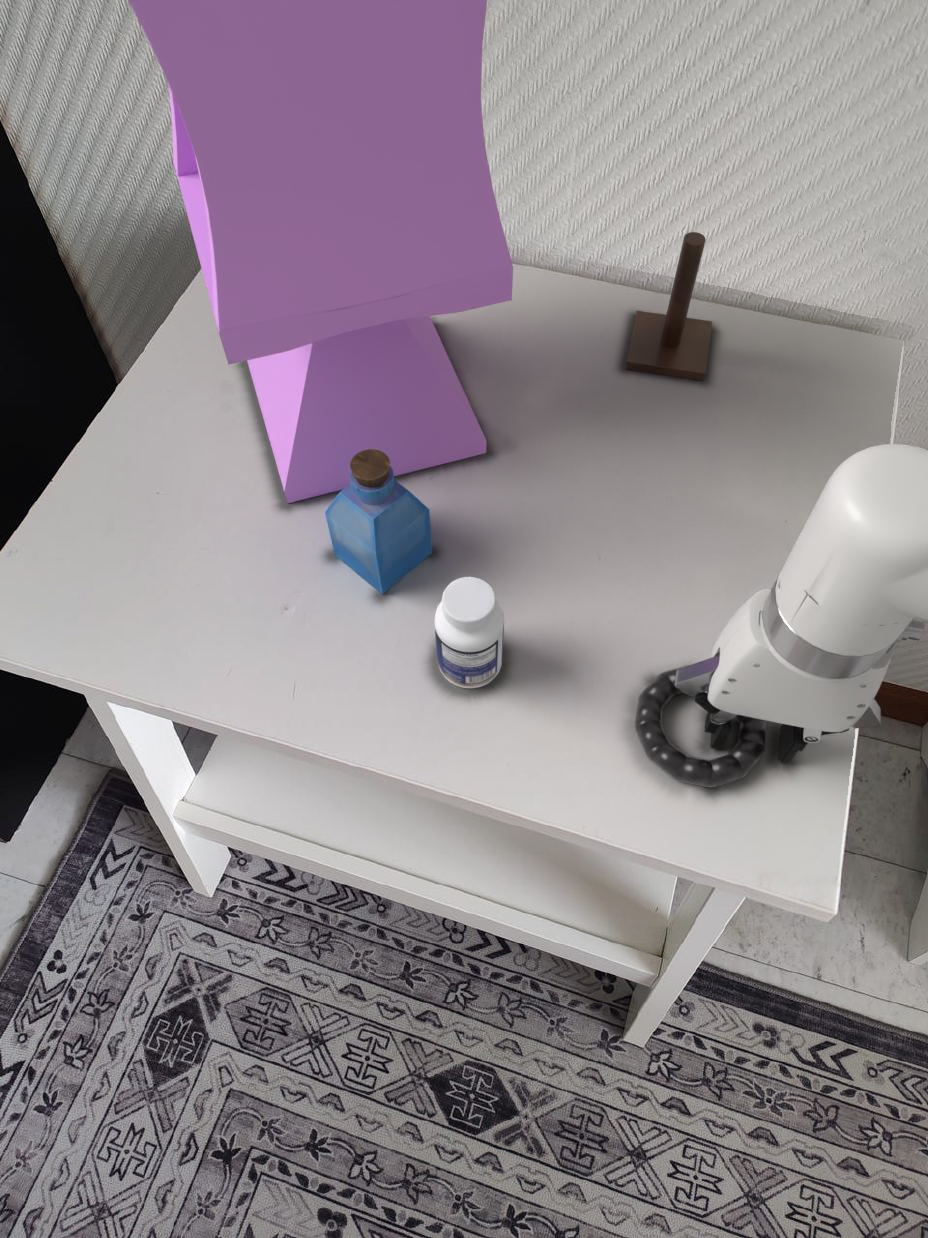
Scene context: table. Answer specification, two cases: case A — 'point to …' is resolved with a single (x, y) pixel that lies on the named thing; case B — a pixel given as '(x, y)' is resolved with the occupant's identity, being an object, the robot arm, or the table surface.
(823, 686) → the robot arm
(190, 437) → the table surface
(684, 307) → the stand
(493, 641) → the pill bottle
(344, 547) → the perfume bottle
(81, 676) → the table surface
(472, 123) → the purple table lamp
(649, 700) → the ring
